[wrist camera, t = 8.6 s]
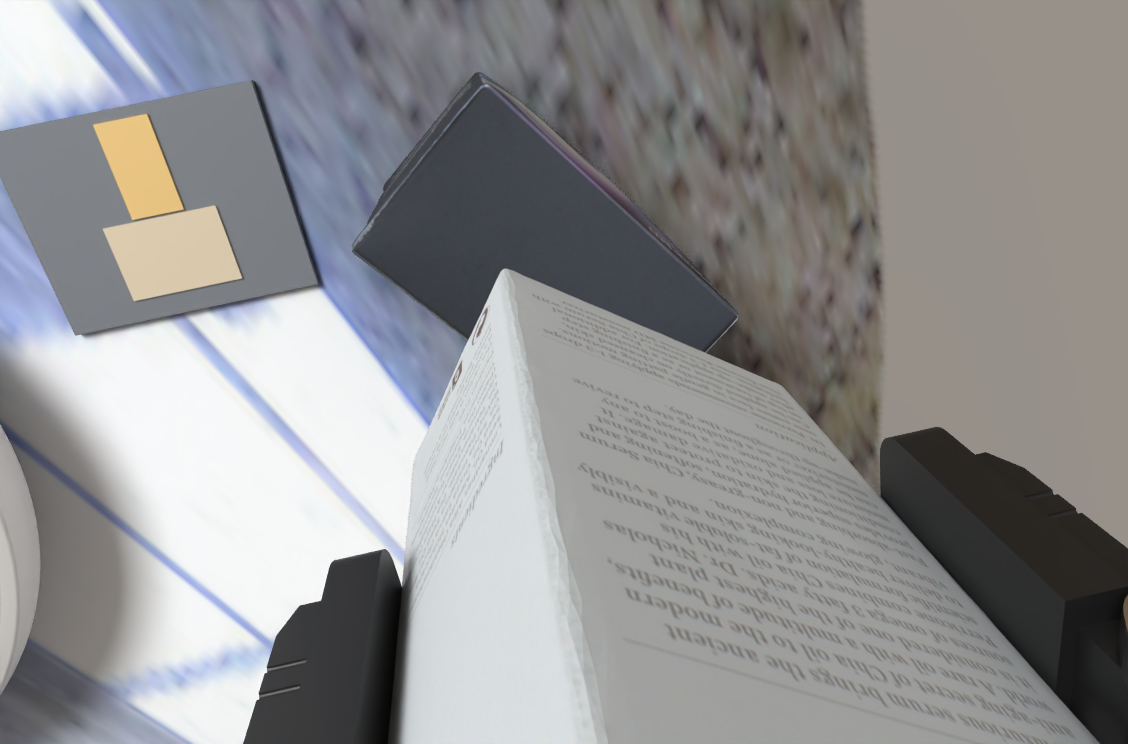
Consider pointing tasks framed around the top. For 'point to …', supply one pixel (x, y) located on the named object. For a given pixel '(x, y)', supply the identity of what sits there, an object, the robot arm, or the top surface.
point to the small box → (527, 226)
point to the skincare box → (671, 562)
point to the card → (157, 207)
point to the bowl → (16, 561)
